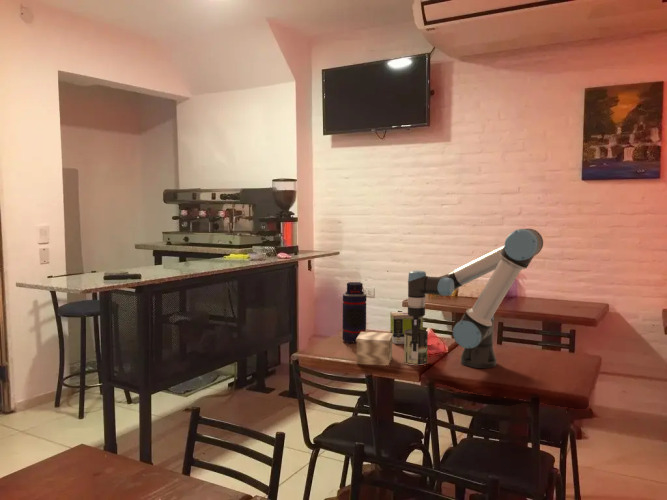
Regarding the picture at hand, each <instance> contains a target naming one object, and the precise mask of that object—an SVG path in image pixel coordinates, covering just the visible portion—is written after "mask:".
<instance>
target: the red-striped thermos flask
mask: <svg viewBox="0 0 667 500" xmlns="http://www.w3.org/2000/svg"><path fill="white" fill-rule="evenodd" d="M364 289H365V288H364V285H363V283H362V282H361V281H359V282H356V281H355V282H353V281H352V282H351V281H350V282H347V283H346V291H345V292H344V293H343V294H342V337H341V339H342V341H344V342H345V344H350V343H357V341H356V338H357V337H358V335H359V334H360V333H361V332H367V331H366V330H367V294H365V290H364Z"/></svg>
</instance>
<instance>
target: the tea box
mask: <svg viewBox="0 0 667 500" xmlns="http://www.w3.org/2000/svg"><path fill="white" fill-rule="evenodd" d="M389 315H390V327H389V328H390V332H389V333H393V337H392V344H394V345H396V344H398V345H402V344H404V331H405V330H408V329H412V324H411V320H412V319H413V316H409V315H408V311H391V312H390V314H389ZM420 319H421V325H420V329H421V330H424V316H422V317H420Z"/></svg>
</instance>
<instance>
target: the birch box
mask: <svg viewBox="0 0 667 500" xmlns="http://www.w3.org/2000/svg"><path fill="white" fill-rule="evenodd" d="M392 337H393V333H390V332H376V331H375V332H374V331H366V332H361V333H360V334H359V335H358V337H357V338H356V341H357V342H356V365H357V364H358V365H359V364H360V365H371V366H372V365H374V366H386V365H389V366H390V364H391V361H390V360H392V359H391V358H393V342H392ZM389 363H390V364H389Z"/></svg>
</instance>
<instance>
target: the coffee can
mask: <svg viewBox="0 0 667 500" xmlns="http://www.w3.org/2000/svg"><path fill="white" fill-rule="evenodd" d="M428 334H429V331H428V330H425V329H423V330H421V329H420V330H418V359H411V353H412V344H410V342H411V341H412V329H408V330H405V331H404V345H403V346H404V347H403V348H404V349H403V350H404V351H403V353H404V354H403V357H404V358H403V363H404V362H405V363H408V364H412V365H423V364H426V363H427V364H428V342H429V339H428V336H429V335H428ZM405 363H404V364H405Z"/></svg>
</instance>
